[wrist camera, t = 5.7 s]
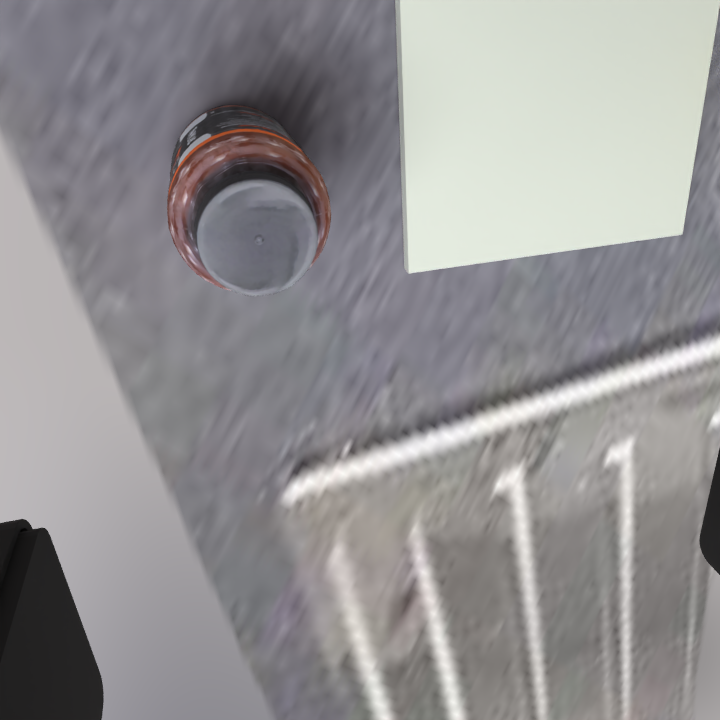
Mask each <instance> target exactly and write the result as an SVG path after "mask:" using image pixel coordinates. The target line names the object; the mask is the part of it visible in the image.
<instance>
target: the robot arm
mask: <svg viewBox="0 0 720 720" xmlns="http://www.w3.org/2000/svg"><path fill="white" fill-rule="evenodd" d="M700 547H701V550H702V553H703V555H704V557H705V559H706V560H707V562H708V563H709V564H710V565H711V566H712V567H713V568H714V569H715V570H716V571H717V573H719V575H720V449H719V453H718V458H717V462H716V467H715V471H714V476H713V480H712V485H711V489H710V494H709V498H708V502H707V507H706V511H705V516H704V520H703V525H702V529H701V534H700ZM102 711H103V685H102V679H101V675H100V672H99V669H98V666H97V663H96V661H95V658H94V655H93V652H92V650H91V647H90V644H89V641H88V639H87V636H86V633H85V630H84V628H83V625H82V622H81V619H80V617H79V614H78V611H77V608H76V606H75V603H74V600H73V597H72V595H71V592H70V589H69V587H68V584H67V581H66V579H65V576H64V573H63V570H62V567H61V564H60V562H59V559H58V556H57V554H56V551H55V548H54V545H53V543H52V540H51V537H50V535H49V533H48V531H47V530H46V529H45V528H39V529H32V527H31V525H30V524H29V522H28V521H27V520H24V519H20V520H15V521H9V522H4V523H0V720H101V718H102Z"/></svg>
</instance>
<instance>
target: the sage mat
mask: <svg viewBox="0 0 720 720" xmlns="http://www.w3.org/2000/svg"><path fill="white" fill-rule="evenodd" d="M719 7H720V0H395V10H396V39H397V68H398V96H399V125H400V154H401V183H402V212H403V240H404V268H405V270H406V271H407V272H408V273H415V272H422V271H429V270H436V269H443V268H450V267H457V266H464V265H471V264H478V263H485V262H492V261H499V260H506V259H513V258H520V257H527V256H534V255H542V254H549V253H556V252H563V251H570V250H577V249H584V248H591V247H598V246H605V245H612V244H619V243H626V242H633V241H640V240H647V239H654V238H661V237H668V236H675V235H682V233H683V227H684V221H685V215H686V209H687V203H688V197H689V190H690V184H691V178H692V172H693V166H694V160H695V154H696V148H697V141H698V135H699V129H700V123H701V117H702V111H703V105H704V99H705V93H706V86H707V80H708V74H709V68H710V62H711V56H712V50H713V44H714V37H715V31H716V25H717V19H718V13H719Z"/></svg>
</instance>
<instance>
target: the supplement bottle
mask: <svg viewBox="0 0 720 720" xmlns="http://www.w3.org/2000/svg"><path fill="white" fill-rule="evenodd" d="M167 210H168V224H169V230H170V233H171V236H172V239H173V242H174V244H175V246H176V248H177V250H178V252H179V253H180V255H181V256H182V258H183V259H184V261H185V262H186V263H187V264H188V266H189V267H190V268H191V269H192V270H193V271H194V272H196V274H197V275H199V276H200V277H202V278H203V279H205V280H206V281H208V282H210V283H212V284H214V285H216V286H218V287H221V288H224V289H225V290H231V291H234V292H236V293H239V294H243V295H247V296H264V295H270V294H276V293H278V292H280V291H283V290H285V289H287V288H289V287H291V286H292V285H294V284H295V283H296V282H297V281H298V280H299V279H301V278H302V277H303V276H304V274H305V273H306V271H307V270H308V269H309V268H310V267H311V266H312V265H313V264H314V262H315V261H316V260H317V258H318V257H319V255H320V253H321V252H322V250H323V248H324V245H325V243H326V240H327V237H328V233H329V228H330V221H331V209H330V201H329V196H328V192H327V188H326V186H325V183H324V181H323V178H322V177H321V175H320V173H319V171H318V170H317V168H316V167H315V166H314V164H313V163H312V162H311V161H310V160H309V158H308V157H307V156H306V155H305V154H304V152H303V151H302V150H301V149H300V147H299V146H298V145H297V143H296V142H295V141H294V140H293V139H292V138H291V136H290V135H289V134H288V133H287V132H286V130H285V129H284V128H283V127H282V126H281V125H280V124H279V123H278V122H277V121H276V120H275V119H273V118H272V117H271V116H269V115H267V114H265V113H263V112H261V111H259V110H256V109H254V108H250V107H246V106H237V105H230V106H229V105H227V106H222V107H218V108H214V109H212V110H209V111H207V112H205V113H203V114H202V115H200V116H199V117H197V118H196V119H195V120H193V121H192V122H191V123H190V124H189V125H188V126H187V127H186V129H185V130H184V132H183V133H182V135H181V136H180V138H179V140H178V142H177V144H176V147H175V150H174V153H173V156H172V163H171V171H170V183H169V191H168V199H167Z"/></svg>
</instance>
